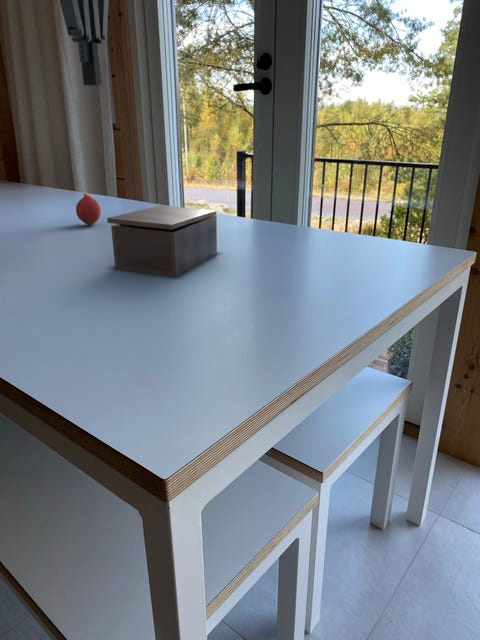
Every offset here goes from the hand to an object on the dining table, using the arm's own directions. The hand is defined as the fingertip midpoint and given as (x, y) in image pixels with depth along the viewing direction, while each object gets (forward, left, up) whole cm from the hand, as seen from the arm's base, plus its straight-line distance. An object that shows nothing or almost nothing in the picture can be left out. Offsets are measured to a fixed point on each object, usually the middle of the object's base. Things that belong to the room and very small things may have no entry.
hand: (92, 85), depth 84 cm
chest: (+14, -1, -30) cm, 34 cm away
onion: (-19, +18, -31) cm, 40 cm away
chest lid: (+14, -1, -22) cm, 27 cm away
